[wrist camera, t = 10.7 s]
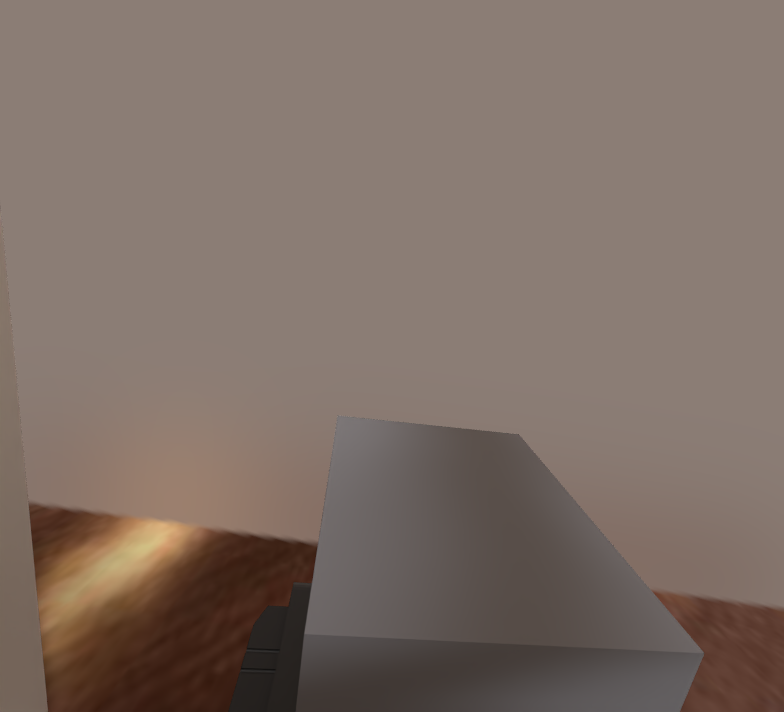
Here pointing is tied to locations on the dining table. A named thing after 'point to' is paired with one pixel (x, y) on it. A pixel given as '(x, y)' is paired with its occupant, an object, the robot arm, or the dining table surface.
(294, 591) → the robot arm
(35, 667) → the white socket stand
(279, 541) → the dining table surface
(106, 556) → the dining table surface
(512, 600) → the rail end
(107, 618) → the dining table surface
